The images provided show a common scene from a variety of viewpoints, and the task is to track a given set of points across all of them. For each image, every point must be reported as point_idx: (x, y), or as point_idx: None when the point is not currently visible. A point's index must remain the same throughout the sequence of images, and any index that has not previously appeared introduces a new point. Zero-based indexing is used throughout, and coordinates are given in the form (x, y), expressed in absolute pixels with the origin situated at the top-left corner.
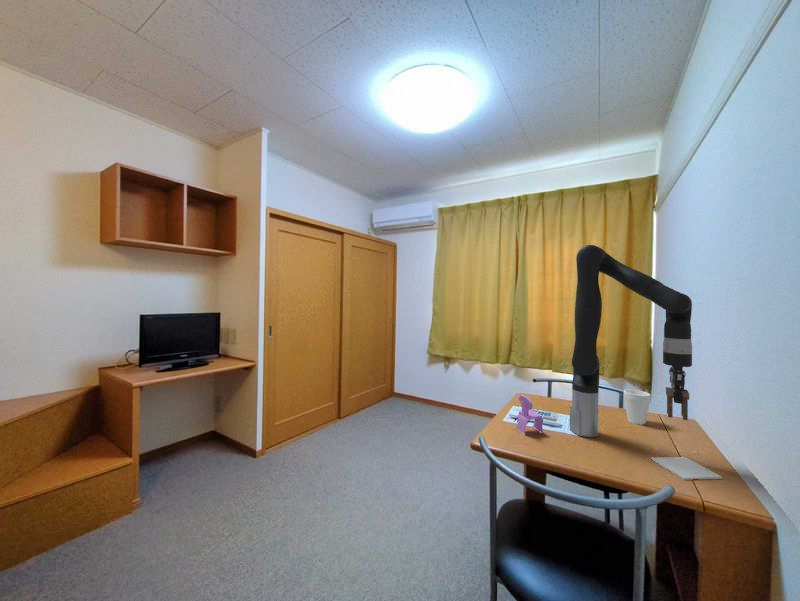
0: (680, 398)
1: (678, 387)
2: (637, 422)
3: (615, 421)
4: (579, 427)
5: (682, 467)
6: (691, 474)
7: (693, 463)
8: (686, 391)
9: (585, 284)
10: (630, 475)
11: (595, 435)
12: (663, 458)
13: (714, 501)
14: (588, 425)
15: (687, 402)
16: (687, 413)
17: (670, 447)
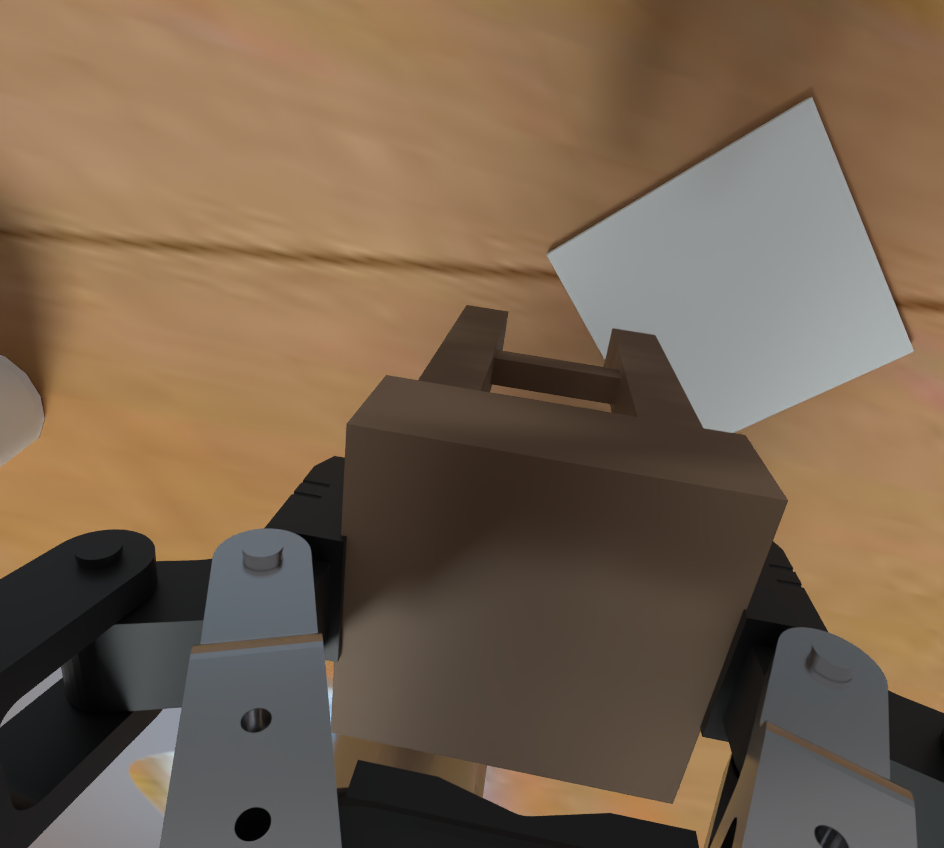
0: (796, 588)
1: (325, 578)
2: (32, 411)
3: (86, 525)
4: (481, 785)
5: (746, 318)
6: (843, 294)
7: (641, 228)
8: (560, 490)
9: None
10: (938, 603)
11: None
12: None
13: None
14: (473, 767)
15: (700, 427)
16: (669, 362)
17: (377, 293)
